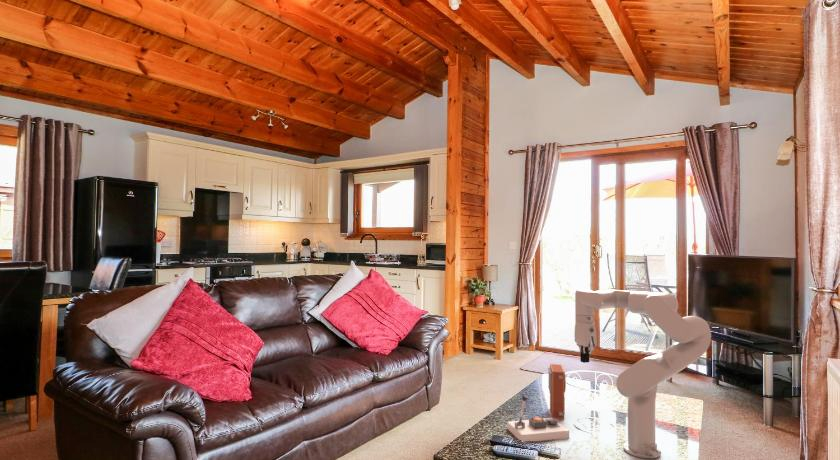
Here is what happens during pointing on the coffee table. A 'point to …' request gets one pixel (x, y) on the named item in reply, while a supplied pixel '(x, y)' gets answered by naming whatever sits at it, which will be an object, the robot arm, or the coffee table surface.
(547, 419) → the rocker switch
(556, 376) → the control panel
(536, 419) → the push button
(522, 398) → the toggle lever
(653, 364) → the robot arm
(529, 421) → the switch board
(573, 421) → the coffee table surface
